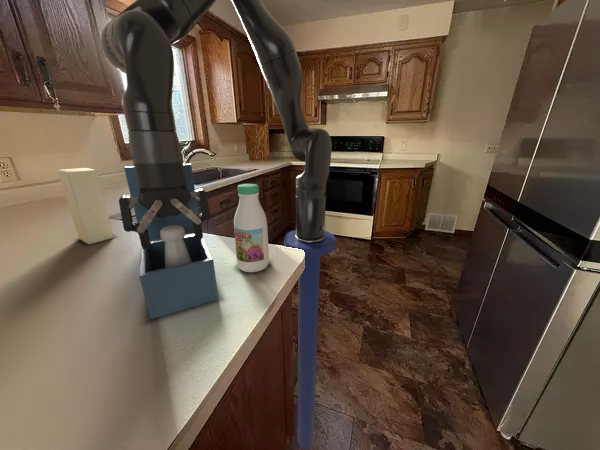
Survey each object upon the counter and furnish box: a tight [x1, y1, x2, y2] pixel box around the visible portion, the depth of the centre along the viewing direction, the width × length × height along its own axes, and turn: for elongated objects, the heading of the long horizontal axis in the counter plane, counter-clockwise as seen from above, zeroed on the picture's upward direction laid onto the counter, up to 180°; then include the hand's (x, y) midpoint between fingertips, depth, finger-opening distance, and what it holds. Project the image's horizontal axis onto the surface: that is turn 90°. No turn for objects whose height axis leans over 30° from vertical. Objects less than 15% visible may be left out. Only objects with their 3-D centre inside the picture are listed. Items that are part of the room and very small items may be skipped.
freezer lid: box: [123, 163, 199, 242], centre depth 53 cm, size 15×12×5 cm
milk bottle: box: [233, 183, 270, 273], centre depth 57 cm, size 8×8×20 cm
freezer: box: [138, 234, 219, 320], centre depth 50 cm, size 15×12×9 cm
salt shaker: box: [160, 225, 192, 268], centre depth 49 cm, size 6×6×13 cm
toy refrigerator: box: [57, 167, 114, 245], centre depth 73 cm, size 8×7×21 cm
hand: (174, 244), depth 48 cm, fingers open, 8 cm apart
